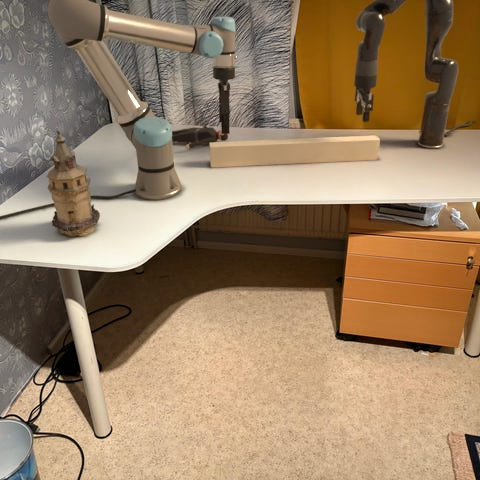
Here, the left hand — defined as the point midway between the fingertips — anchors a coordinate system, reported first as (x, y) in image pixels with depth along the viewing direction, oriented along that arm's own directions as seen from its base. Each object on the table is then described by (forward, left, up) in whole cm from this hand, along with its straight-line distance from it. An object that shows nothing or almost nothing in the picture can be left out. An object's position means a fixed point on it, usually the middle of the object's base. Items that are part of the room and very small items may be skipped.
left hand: (224, 127), depth 191 cm
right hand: (+50, 0, +1) cm, 50 cm away
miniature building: (-46, -45, -14) cm, 66 cm away
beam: (+26, 0, -14) cm, 29 cm away
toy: (-12, +26, -14) cm, 32 cm away
